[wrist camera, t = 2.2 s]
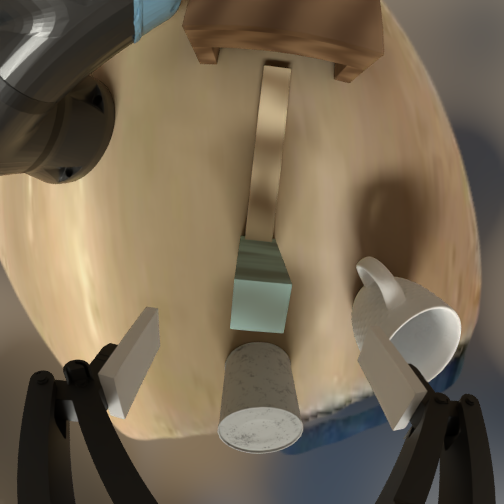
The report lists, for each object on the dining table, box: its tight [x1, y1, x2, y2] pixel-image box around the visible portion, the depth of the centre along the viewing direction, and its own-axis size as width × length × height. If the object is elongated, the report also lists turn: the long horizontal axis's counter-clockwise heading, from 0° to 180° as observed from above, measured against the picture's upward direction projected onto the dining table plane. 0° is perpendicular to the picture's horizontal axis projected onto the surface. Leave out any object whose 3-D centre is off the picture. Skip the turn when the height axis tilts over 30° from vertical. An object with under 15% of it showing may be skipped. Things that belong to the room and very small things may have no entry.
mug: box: [351, 257, 461, 382], centre depth 28 cm, size 15×11×13 cm
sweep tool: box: [230, 66, 292, 333], centre depth 24 cm, size 24×4×14 cm, turn 174°
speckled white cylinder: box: [218, 342, 303, 453], centre depth 32 cm, size 10×10×12 cm
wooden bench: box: [182, 0, 384, 83], centre depth 20 cm, size 18×14×10 cm
